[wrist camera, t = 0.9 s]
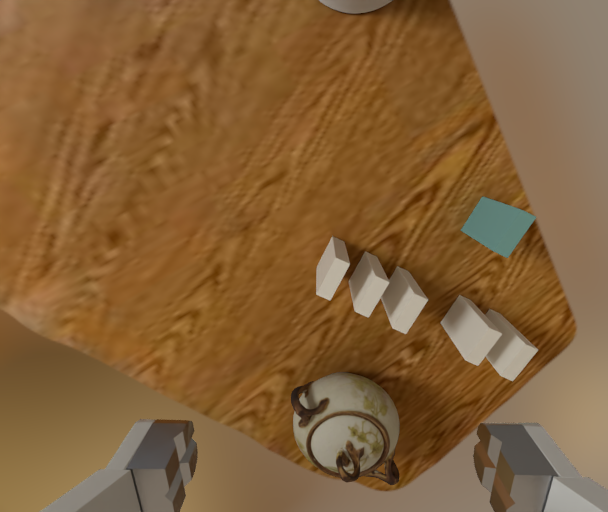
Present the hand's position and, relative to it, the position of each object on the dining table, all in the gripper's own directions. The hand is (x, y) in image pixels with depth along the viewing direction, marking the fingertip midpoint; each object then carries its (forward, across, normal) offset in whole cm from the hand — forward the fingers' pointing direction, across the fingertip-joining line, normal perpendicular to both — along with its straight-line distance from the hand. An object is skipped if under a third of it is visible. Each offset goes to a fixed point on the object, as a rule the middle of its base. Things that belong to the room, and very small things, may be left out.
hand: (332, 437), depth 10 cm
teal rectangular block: (+37, -20, +2) cm, 43 cm away
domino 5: (+37, -23, +18) cm, 48 cm away
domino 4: (+37, -19, +16) cm, 45 cm away
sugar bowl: (+37, -3, +30) cm, 48 cm away
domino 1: (+37, -1, +7) cm, 38 cm away
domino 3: (+37, -10, +12) cm, 40 cm away
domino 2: (+37, -6, +9) cm, 39 cm away
